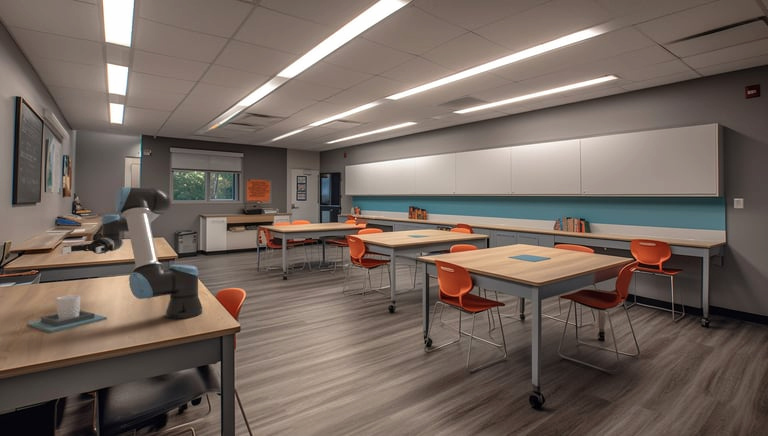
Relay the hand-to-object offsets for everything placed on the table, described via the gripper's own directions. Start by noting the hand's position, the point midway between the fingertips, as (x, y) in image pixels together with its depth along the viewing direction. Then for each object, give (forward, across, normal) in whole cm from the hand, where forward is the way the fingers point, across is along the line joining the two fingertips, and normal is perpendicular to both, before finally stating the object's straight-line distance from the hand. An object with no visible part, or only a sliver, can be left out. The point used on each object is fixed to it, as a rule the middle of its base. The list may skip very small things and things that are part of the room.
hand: (79, 250), depth 170 cm
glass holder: (+10, 0, -30) cm, 32 cm away
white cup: (+10, 0, -29) cm, 31 cm away
